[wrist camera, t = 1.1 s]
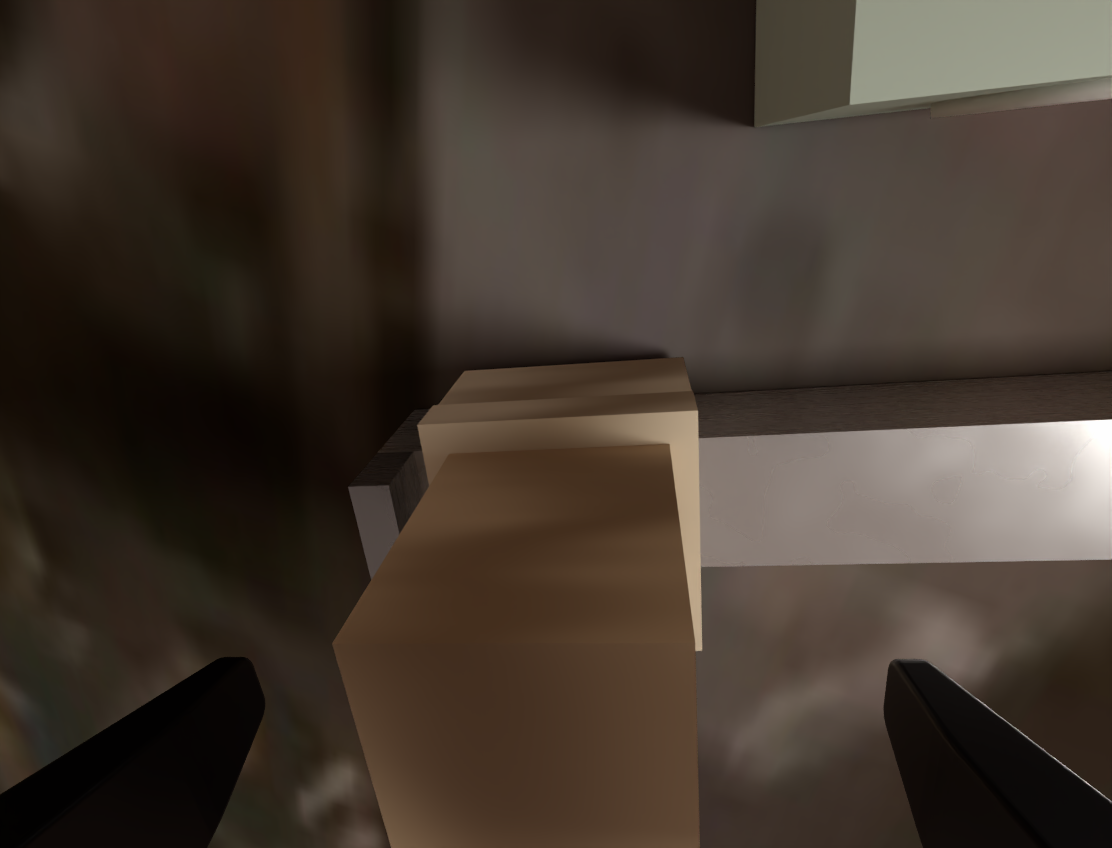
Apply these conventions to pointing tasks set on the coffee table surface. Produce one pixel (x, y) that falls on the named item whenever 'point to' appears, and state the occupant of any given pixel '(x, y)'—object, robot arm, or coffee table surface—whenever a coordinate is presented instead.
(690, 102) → the coffee table surface
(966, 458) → the rail
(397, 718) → the carriage
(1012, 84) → the cabinet
